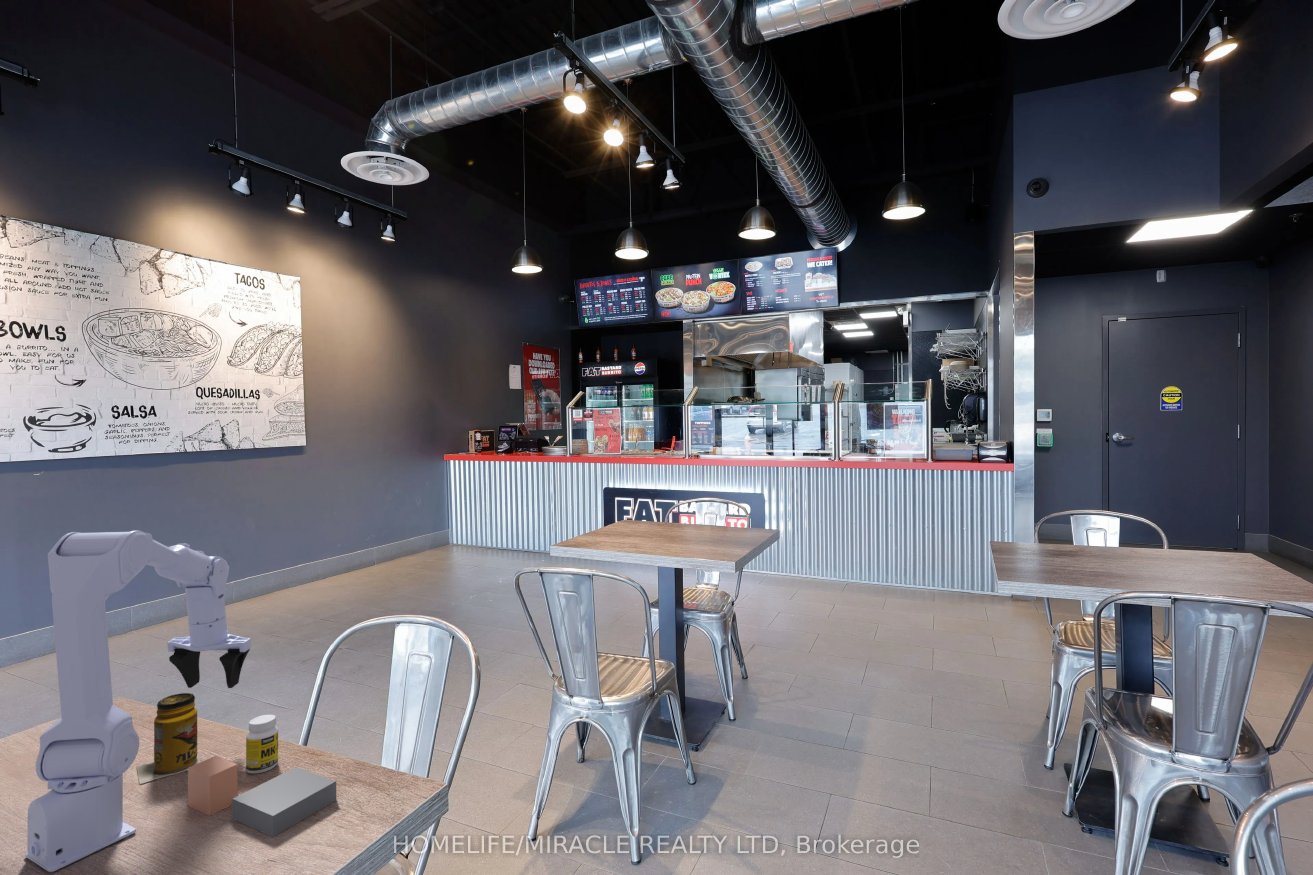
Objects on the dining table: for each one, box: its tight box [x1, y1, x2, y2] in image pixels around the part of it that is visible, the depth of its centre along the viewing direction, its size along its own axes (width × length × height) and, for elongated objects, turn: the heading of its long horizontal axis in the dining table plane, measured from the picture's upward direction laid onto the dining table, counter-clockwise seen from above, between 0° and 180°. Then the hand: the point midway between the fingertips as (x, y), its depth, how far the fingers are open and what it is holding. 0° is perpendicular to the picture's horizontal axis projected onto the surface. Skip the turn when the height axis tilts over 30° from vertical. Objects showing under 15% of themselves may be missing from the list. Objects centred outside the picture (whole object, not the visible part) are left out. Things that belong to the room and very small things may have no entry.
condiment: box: [136, 692, 202, 785], centre depth 107 cm, size 7×8×12 cm
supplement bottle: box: [245, 714, 279, 775], centre depth 106 cm, size 5×5×8 cm
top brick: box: [187, 755, 239, 816], centre depth 96 cm, size 4×6×6 cm, turn 64°
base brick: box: [231, 766, 337, 837], centre depth 94 cm, size 10×10×3 cm
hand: (213, 685), depth 116 cm, fingers open, 7 cm apart
